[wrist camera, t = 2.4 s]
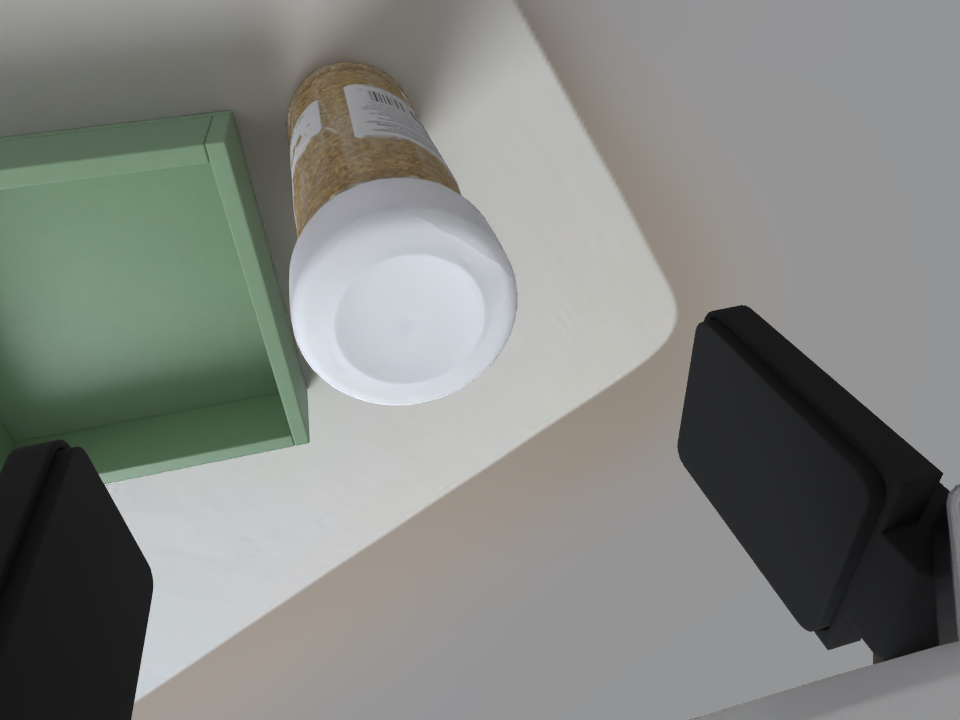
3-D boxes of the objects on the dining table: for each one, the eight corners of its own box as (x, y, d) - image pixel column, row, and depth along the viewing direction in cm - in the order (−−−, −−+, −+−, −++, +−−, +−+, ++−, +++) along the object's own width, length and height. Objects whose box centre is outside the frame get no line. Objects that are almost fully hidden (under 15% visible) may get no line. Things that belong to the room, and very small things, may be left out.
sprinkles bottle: (258, 110, 23) (234, 308, 12) (366, 30, 22) (445, 160, 11) (342, 213, 25) (384, 448, 15) (440, 143, 25) (561, 336, 14)
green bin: (232, 109, 22) (224, 140, 20) (307, 391, 29) (310, 443, 27) (-177, 158, 20) (-249, 200, 18) (10, 447, 28) (-20, 509, 25)
